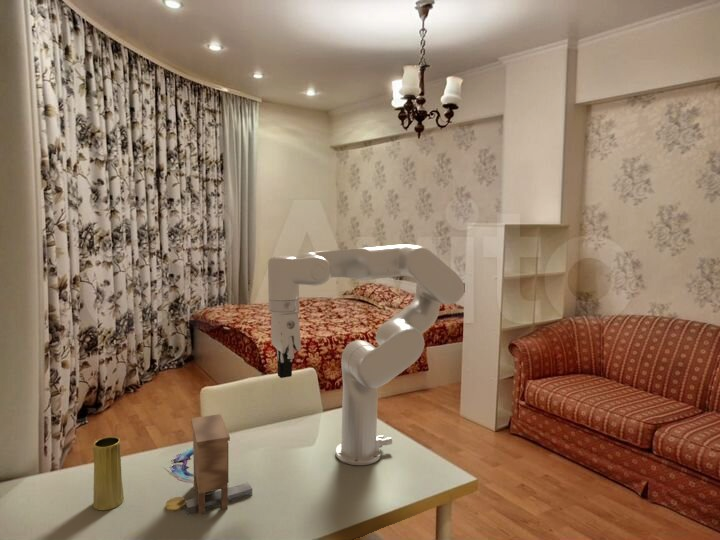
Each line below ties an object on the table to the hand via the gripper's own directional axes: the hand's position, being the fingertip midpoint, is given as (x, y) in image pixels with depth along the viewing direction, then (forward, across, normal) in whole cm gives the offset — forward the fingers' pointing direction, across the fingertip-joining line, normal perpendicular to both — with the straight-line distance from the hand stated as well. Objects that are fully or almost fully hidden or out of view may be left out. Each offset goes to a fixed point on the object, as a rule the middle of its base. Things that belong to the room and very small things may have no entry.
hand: (284, 376), depth 123 cm
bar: (+24, -9, +19) cm, 32 cm away
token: (+24, -6, +28) cm, 37 cm away
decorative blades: (+24, +12, +23) cm, 36 cm away
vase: (+23, +1, +41) cm, 47 cm away
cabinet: (+24, -6, +20) cm, 32 cm away
